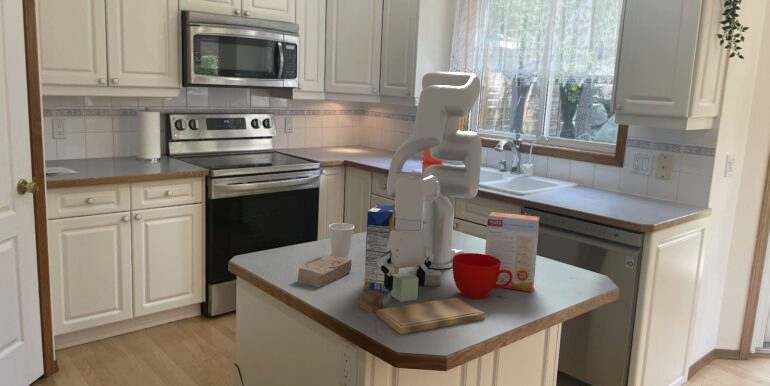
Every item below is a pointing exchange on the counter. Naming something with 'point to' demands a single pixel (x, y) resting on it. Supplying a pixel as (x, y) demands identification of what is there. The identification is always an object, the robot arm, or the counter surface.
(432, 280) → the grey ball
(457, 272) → the ceramic cup
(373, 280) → the beverage box
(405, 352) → the counter surface
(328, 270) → the brick
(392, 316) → the cutting board
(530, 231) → the cracker box
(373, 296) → the walnut block
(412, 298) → the sage block
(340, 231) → the dixie cup
